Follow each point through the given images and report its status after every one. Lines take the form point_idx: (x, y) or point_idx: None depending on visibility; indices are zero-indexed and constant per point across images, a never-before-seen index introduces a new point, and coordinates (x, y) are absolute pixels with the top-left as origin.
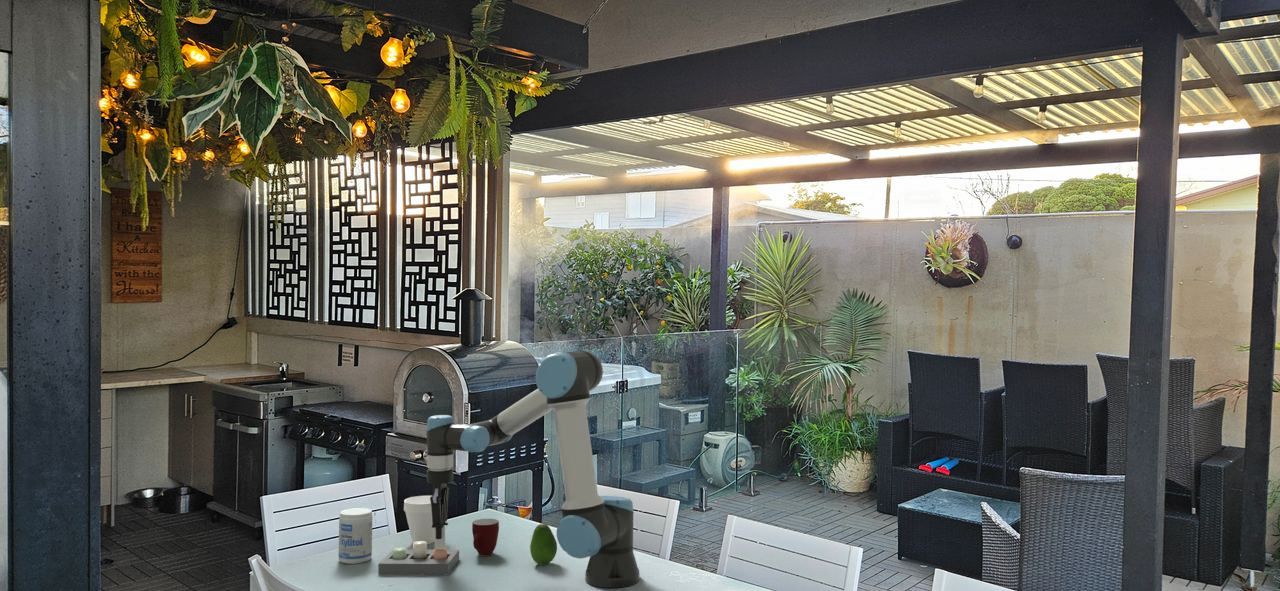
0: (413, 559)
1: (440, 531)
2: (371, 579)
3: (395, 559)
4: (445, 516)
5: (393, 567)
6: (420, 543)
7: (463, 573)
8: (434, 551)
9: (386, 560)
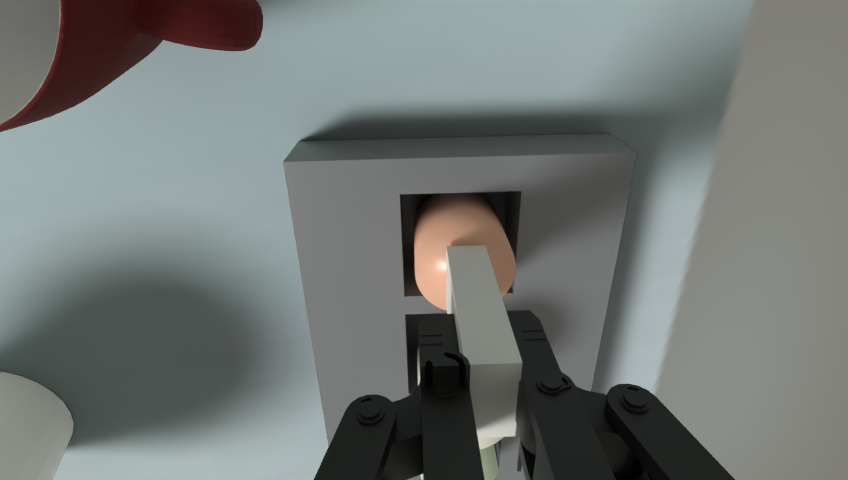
0: None
1: (555, 358)
2: None
3: (510, 440)
4: (423, 456)
5: None
6: None
7: (598, 32)
8: (503, 295)
9: None
